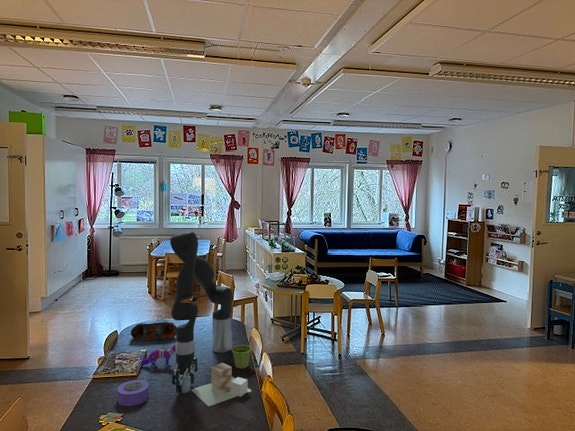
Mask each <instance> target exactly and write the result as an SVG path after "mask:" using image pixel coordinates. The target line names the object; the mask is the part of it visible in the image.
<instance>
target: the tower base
mask: <svg viewBox="0 0 575 431" xmlns="http://www.w3.org/2000/svg"><path fill="white" fill-rule="evenodd" d="M211 383H212V390H213V391H214V392H215V393H216V394H217V395H221V394H224V393H227V392H230V391H231V379H230V380H227V381H225V382H223V383H221V384H220V383H218V382H216V381H214V380H212V379H211Z"/></svg>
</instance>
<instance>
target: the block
mask: <svg viewBox="0 0 575 431" xmlns="http://www.w3.org/2000/svg"><path fill="white" fill-rule="evenodd" d="M248 384H249V383H248V379H247V378H243V377H240V376H237V377H236V378H235V379H234V380H233V381H231V394H233V395H237V396H236V397H239V398H240V397H242V396H244V395H245V394H247V393H246V392H247V391H248V386H249V385H248Z"/></svg>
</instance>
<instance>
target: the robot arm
mask: <svg viewBox="0 0 575 431" xmlns="http://www.w3.org/2000/svg"><path fill="white" fill-rule="evenodd" d="M169 244H170V247H171V249H172V252H174V254H175V256H177V257H178V259H180V260H181V261H182V263H183V265H182V267H181V268H180V270H179V273H178V274H177V277H176V291H175V292H176V293H175V299H174V303H173V305H172V308H171V314H170V315H171V317H172V319H173V320H174V321H187V322H186V323H183V324H182V323H181V324H179V325H178V326H176V327H177V329H176V336H175V337H176V338H175V341H176V342H175V346H176V352H175V362H176V364H177V368H176V369H173V370H172V372H171V373H172V374H171V375H172V376H171V384H172V385H175V392H176V393H177V394H182V393H181V392H182V384H181V383H182V381H183V379H184V378H185V376H186V375H190V380H191V385H193V384H194V383H195V374H196V373H197V372H198V370H199V369H198V358H196V357H195V324H196V320H197V316H198V314H199V306H198V304H197V303H196V302H192V301H191V302H183V301H184V300H187V299H190V298H192V297H194V294H195V292H194V290H195V288H194V286H195V284H194V282H195V281H194V279H196V281H197V282H198V283H199V284H200V285H199V286H201V287H202V289H203V290H204V292H205V294H206V296H207V298H208V300H209V301H210V302H211V303H212V304H213V305H219V306H220V308H219V309H215V310H214V311H213V312H212V345H211V346H212V352H214V353H217V354H218V353H220V354H221V353H223V354H224V353H227V352H230V351H231V349H232V348H233V331H232V330H231V317H232V316H231V315H232V314H231V313H232V310H233V291H232V289H231V287H227V286H223V285H217V284H216V282H215V281H214V279H215V270H214V268H213V266H212V265H211V264H210V263H209V261H208V260H206V259H205V258H203V257H201V256H199V255H198V249H199V239H198V236H197V234H196V233H195V232H194V231H186V232H182V233H178V234H175V235H173V236H171V237H170V240H169ZM181 375H183V376H181ZM179 378H180V381H179Z"/></svg>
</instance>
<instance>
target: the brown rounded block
mask: <svg viewBox="0 0 575 431" xmlns="http://www.w3.org/2000/svg"><path fill="white" fill-rule="evenodd" d="M177 327H178V326H176V325H175V324H174V323H173V322H169V321H162V322H153V323H151V322H150V323H138V324H136V325H134V327H132V329H131V330H130V335H131V337H132V338H133V339H134V340H135V341H136V342H140V341H142V342H143V343H144V342H151V341H152V342H153V341H154V342H155V341H165V338H169V339H170V341H171V340H173V339H174V338H175V337H176V329H177ZM153 339H154V340H153Z"/></svg>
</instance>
